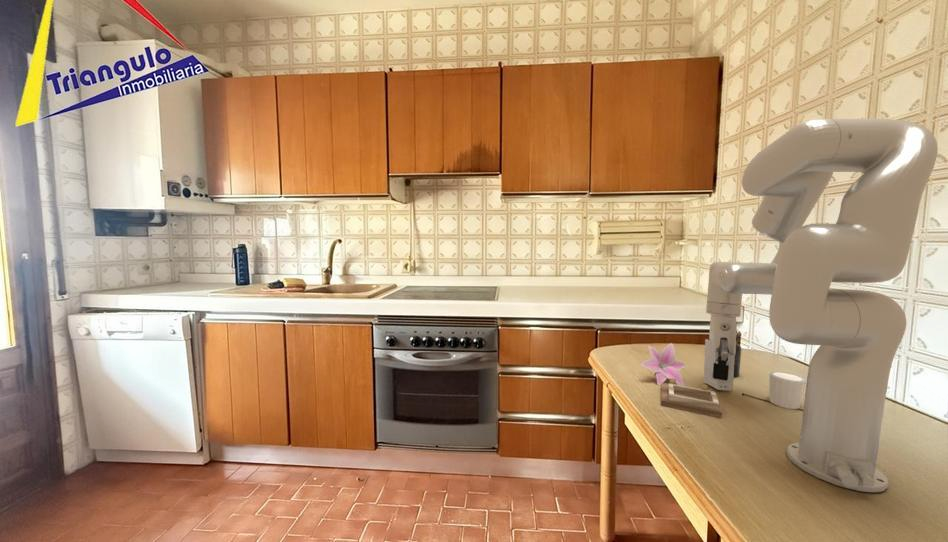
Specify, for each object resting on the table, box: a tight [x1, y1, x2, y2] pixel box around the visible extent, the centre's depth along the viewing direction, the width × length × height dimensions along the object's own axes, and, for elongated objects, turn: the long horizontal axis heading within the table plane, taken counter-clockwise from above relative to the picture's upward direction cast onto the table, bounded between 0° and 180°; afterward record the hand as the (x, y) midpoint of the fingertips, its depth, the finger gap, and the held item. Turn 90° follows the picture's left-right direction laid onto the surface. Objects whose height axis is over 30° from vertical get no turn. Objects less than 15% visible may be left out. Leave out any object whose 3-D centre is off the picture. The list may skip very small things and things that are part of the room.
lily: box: [640, 342, 687, 386], centre depth 103 cm, size 12×12×10 cm
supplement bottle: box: [734, 334, 742, 378], centre depth 109 cm, size 7×7×12 cm
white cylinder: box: [769, 371, 807, 410], centre depth 90 cm, size 7×7×7 cm
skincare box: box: [703, 338, 735, 391], centre depth 98 cm, size 6×4×12 cm
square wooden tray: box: [660, 378, 723, 419], centre depth 90 cm, size 12×12×3 cm
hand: (717, 374), depth 98 cm, fingers closed on skincare box, 7 cm apart
